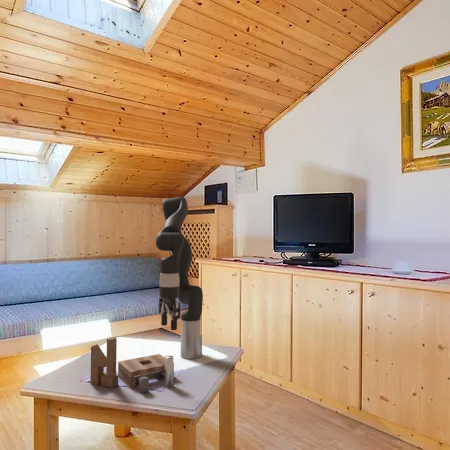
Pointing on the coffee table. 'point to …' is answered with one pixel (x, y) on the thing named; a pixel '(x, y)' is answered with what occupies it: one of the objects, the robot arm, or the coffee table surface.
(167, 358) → the long pin
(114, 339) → the brown angled frame
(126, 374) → the brown block with hole
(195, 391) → the coffee table surface
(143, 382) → the short pin
